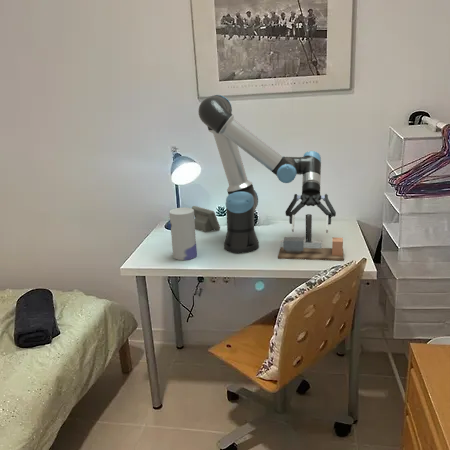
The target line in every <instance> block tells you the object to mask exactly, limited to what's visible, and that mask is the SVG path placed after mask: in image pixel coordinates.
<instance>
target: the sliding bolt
mask: <svg viewBox="0 0 450 450" xmlns="http://www.w3.org/2000/svg"><path fill="white" fill-rule="evenodd" d="M312 217H313V216H312V214H310V213H308V214H305V239H304V241H303V248H320V249H322V248H323V245H322V244H323V243H322V240H312V235H313V234H312V230H313V229H312V226H313V225H312V224H313V223H312V222H313V221H312V220H313V218H312ZM283 240H284V239H280V240H279V248H280V247H284V246H283Z"/></svg>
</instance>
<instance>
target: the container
mask: <svg viewBox="0 0 450 450" xmlns="http://www.w3.org/2000/svg"><path fill="white" fill-rule="evenodd" d="M169 223H170V234H171V245H172V246H171V247H172V256H173V259H175V260H179V261H188V260H193V259H195V258H196V257H197V255H198V250H197V237H196V235H197V233H196V229H195V216H194V209H192V207H184V206H183V207H176V208H172V209H170V210H169Z"/></svg>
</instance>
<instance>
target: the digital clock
mask: <svg viewBox="0 0 450 450" xmlns="http://www.w3.org/2000/svg"><path fill="white" fill-rule="evenodd" d="M191 208H192V209H194V219H195V230H198V231H200V232H204V233H208V232H211V231H218V232H219V231H220V230H221V225H220V222H219V219H218V217H217V215H216V213H215V211H214V210H211V209H208V208H205V207H200V206H198V205H193V206H192V207H191Z"/></svg>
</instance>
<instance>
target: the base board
mask: <svg viewBox="0 0 450 450" xmlns="http://www.w3.org/2000/svg"><path fill="white" fill-rule="evenodd" d="M344 256H345V255H344V253H343V256H340V255H332V247H331V248H330V247H322V249H320V248H304V249H303V251H301V254H294V253H286V250H284V247H280V246H279V250H278V254H277V259H279V260H305V259H306V260H307V261H308V260H309V261H333V262H334V261H339V262H344V260H345V258H344Z"/></svg>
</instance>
